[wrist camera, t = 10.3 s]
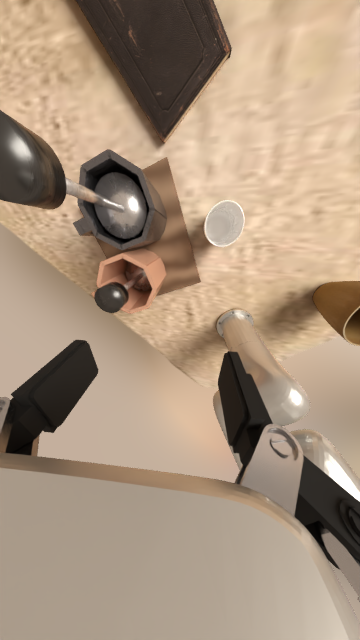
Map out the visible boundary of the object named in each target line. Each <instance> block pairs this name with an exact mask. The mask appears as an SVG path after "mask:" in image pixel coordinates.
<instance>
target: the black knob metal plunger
mask: <svg viewBox="0 0 360 640" xmlns="http://www.w3.org/2000/svg"><path fill="white" fill-rule="evenodd" d="M126 277H127V280H128V282H127V283H125V284H124V285H122V284H120V283H118V282H110V283H108V284H106V285H104V286H102V287H101V288H99V289H97V290H96V292H95V295H94V298H95V301H96V303H97V305H98V306H99V307H100V308H101V309H102V310H104V311H106V312H109V313H115V312H117V311H119V310H120V309H121V308H122V307H123V306H124V305H125V304H126V303H127V302H128V300H129V293H128V291H127V290H128V289H129V288H130V287H132V286H133V287H134V288H136V289H138V290H141V291H147V290H150V289H152V287H151V284H150V282H149V280H148V278H147V275H146V273H145V271H144V269H143V268H141V267H139V266H137V265H135V264H133V263H131V262H128V264H127V266H126Z"/></svg>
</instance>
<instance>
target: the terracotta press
mask: <svg viewBox="0 0 360 640" xmlns="http://www.w3.org/2000/svg"><path fill="white" fill-rule="evenodd" d="M128 262H131V263H133V264H135V265H137V266H139V267H141V268H143V269H144V271H145V273H146V275H147V278H148V280H149V282H150V284H151V287H152V289H150V290H147V291H141V290H138V289H136V288H134V287H133V286H132V287H130V288H129V289H128V290H127V291H128V293H129V300H128V302H127V303H126V304H125V305H124V306H123V307H122V308H121V309H120V310H122V311H124V312H127V313H129V314H131V313H134V312H138V311H141V310H144V309H148V308H149V307H150V305H151V303H152V302H153V300H154V298H155V297H156V295H157V293H158V292H159V290H160V288H161V286H162V284H163V282H164V279H165V277H166V270H165V265H164V263H163V261H162V260H161V258H160V257H159V256H158V255H157V254H155V253H154V252H152V251H149V250H146V249H138V250H134V251H130V252H125V253H121V254H119V255H116V256H114V257H111V258H109V259H106V260H104V261H102V262H100V266H99V272H98V277H97V283H96V284H97V286H98V288H101V287H102V286H104V285H106V284H108V283H110V282H118V283H120V284H122V285H124V284H125V283H127V282H128V280H127V277H126V266H127V264H128ZM95 292H96V291H94V292H92V293H91V294H92V295H93V297H94V295H95Z"/></svg>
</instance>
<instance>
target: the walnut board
mask: <svg viewBox="0 0 360 640" xmlns="http://www.w3.org/2000/svg"><path fill="white" fill-rule="evenodd" d="M142 171H143V172H144V174H145V175H146V177H147V178H148V179H149V181H150V182H151V184H152V185H153V186H154V188H155V189H156V191H157V192H158V193H159V195H160V197H161V200H162V203H163V205H164V208H165V211H166V216H167V222H166V227H165V231H164V233H163V235H162V236H161V239H160V240H158V241H156V242H154V243H151V244H148V245H146V246H143V247H137V248H132V249H126V250H120V249H118V248H116V247H114V246H112V245H110V244H108V243H106V242H104V241H102V240H100V239H98V238H96V239H97V241H98V243H99V244H100V246H101V248H102V250H103V252H104V254H105V256H106V257H107V259H109V258H111V257H114V256H116V255H119V254H121V253H125V252H130V251H134V250H138V249H146V250H149V251H152V252H154V253H155V254H157V255H158V256H159V257H160V258H161V260H162V261H163V263H164V265H165V270H166V277H165V279H164V282H163V284H162V286H161V288H160V290H159V292H158V293H157V295H161V294H164V293H167V292H170V291H173V290H176V289H180V288H183V287H186V286H189V285H192V284H196V283H199V282H201V281H200V278H199V274H198V270H197V267H196V263H195V259H194V255H193V252H192V248H191V244H190V241H189V237H188V233H187V229H186V226H185V222H184V218H183V215H182V211H181V207H180V203H179V200H178V196H177V192H176V189H175V185H174V181H173V177H172V174H171V170H170V166H169V163H168V159H167V157H166V158H164V159H162V160H160V161H158V162H157V163H155V164H153V165H151V166H149V167H147V168H145V169H144V170H142ZM95 237H96V236H95ZM157 295H156V296H157Z"/></svg>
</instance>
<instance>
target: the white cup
mask: <svg viewBox="0 0 360 640" xmlns="http://www.w3.org/2000/svg"><path fill="white" fill-rule="evenodd" d="M244 221H245V219H244V213H243V210H242V208H241V207H240V206H239V204H237V203H236V202H234V201H231V200H224V201H221V202H219V203H217V204H216V205H214V206H213V207H212V208H211V210H210V211H209V213H208V214H207V217H206V219H205V222H204V228H203V230H204V235H205V237H206V239H207V240H208V241H209V242H210V243H211V244H213V245H214V246H217V247H226V246H229V245H231V244H232V243H234V242H235V241H236V240H237V239H238V238H239V236H240V235H241V233H242V230H243V227H244Z"/></svg>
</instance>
